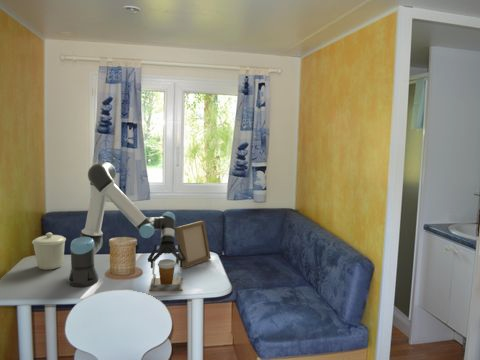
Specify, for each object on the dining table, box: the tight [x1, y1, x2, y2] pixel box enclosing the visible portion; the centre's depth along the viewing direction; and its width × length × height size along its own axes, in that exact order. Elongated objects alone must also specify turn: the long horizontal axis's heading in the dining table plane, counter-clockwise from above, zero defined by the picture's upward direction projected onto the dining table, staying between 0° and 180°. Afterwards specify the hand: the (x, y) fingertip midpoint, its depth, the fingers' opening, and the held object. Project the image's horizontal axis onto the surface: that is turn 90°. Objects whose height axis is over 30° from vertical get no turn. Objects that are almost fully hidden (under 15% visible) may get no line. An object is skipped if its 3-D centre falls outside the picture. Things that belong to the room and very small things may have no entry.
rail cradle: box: [148, 272, 184, 292], centre depth 212 cm, size 17×16×3 cm
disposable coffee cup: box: [157, 258, 177, 284], centre depth 212 cm, size 10×10×12 cm
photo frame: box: [175, 220, 211, 269], centre depth 248 cm, size 15×22×25 cm
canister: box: [31, 231, 67, 271], centre depth 233 cm, size 18×18×21 cm
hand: (166, 273), depth 209 cm, fingers open, 13 cm apart
